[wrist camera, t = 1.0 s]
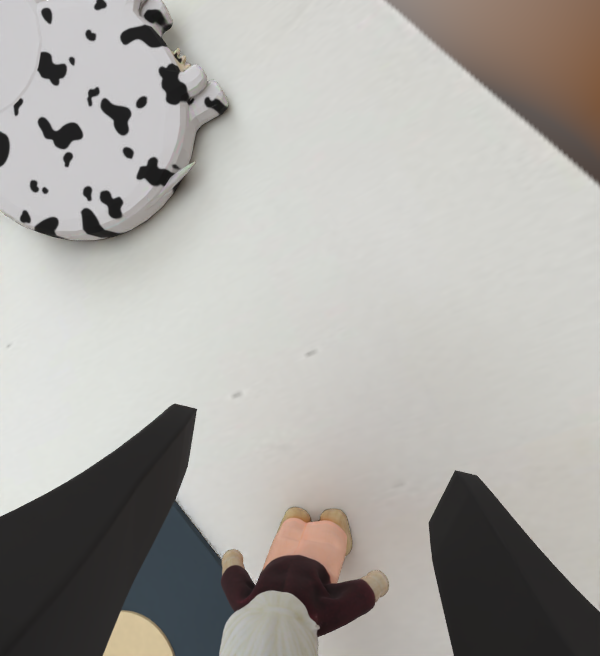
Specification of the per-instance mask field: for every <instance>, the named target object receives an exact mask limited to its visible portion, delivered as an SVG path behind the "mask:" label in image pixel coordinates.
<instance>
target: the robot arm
mask: <svg viewBox="0 0 600 656" xmlns="http://www.w3.org/2000/svg"><path fill="white" fill-rule="evenodd" d="M196 411H197V409H195V408H191V407H187V406H182V405H178V404H173V405H171V406H170V407H169V408H168V409H166V410H165V411H164V412H163V413H162V414H161V415H159V416H158V417H157V418H156V419H155V420H154V421H152V422H151V423H150V424H149V425H148V426H146V427H145V428H144V429H143V430H141V431H140V432H139V433H138V434H136V435H135V436H134V437H132V438H131V439H130V440H128V441H127V442H126V443H124V444H123V445H122V446H120V447H119V448H118V449H116V450H115V451H114V452H112V453H111V454H109V455H108V456H106V457H105V458H103V459H102V460H100V461H99V462H97V463H96V464H94V465H93V466H91V467H90V468H89V469H87V470H85V471H84V472H82V473H81V474H79V475H77V476H76V477H74V478H73V479H71V480H69V481H68V482H66V483H64V484H62V485H61V486H59V487H57V488H55V489H54V490H52V491H50V492H48V493H46V494H45V495H43V496H41V497H39V498H37V499H35V500H33V501H31V502H29V503H27V504H25V505H23V506H21V507H19V508H18V509H16V510H13V511H11V512H9V513H7V514H5V515H3V516H1V517H0V656H103V654H104V651H105V649H106V646H107V644H108V641H109V639H110V636H111V634H112V631H113V629H114V627H115V624H116V622H117V619H118V617H119V614H120V612H121V609H122V607H123V604H124V602H125V599H126V597H127V595H128V593H129V591H130V589H131V586H132V584H133V582H134V580H135V578H136V576H137V574H138V572H139V570H140V568H141V566H142V564H143V562H144V560H145V558H146V556H147V554H148V553H149V551H150V549H151V547H152V545H153V543H154V541H155V539H156V537H157V535H158V533H159V531H160V529H161V527H162V525H163V523H164V521H165V519H166V517H167V515H168V513H169V511H170V509H171V507H172V505H173V503H174V501H175V499H176V496H177V494H178V491H179V488H180V486H181V483H182V480H183V478H184V475H185V472H186V470H187V467H188V461H189V455H190V449H191V443H192V436H193V430H194V424H195V418H196ZM429 532H430V544H431V553H432V561H433V566H434V570H435V575H436V579H437V584H438V588H439V593H440V597H441V602H442V606H443V610H444V614H445V619H446V623H447V627H448V632H449V636H450V640H451V645H452V649H453V654H454V656H600V612H599V611H598V610H597V609H596V608H595V607H594V606H593V605H592V604H591V603H590V602H589V601H588V600H587V599H586V598H585V597H584V596H583V595H582V594H581V593H580V592H579V591H578V590H577V589H576V588H575V587H574V586H573V585H572V584H571V583H570V582H569V581H568V580H567V579H566V578H565V576H564V575H563V574H562V573H561V572H560V571H559V570H558V569H557V568H556V567H555V566H554V565H553V564H552V562H551V561H550V560H549V559H548V558H547V557H546V556H545V555H544V553H543V552H542V551H541V550H540V549H539V548H538V547H537V546H536V544H535V543H534V542H533V541H532V540H531V539H530V537H529V536H528V535H527V534H526V533H525V532H524V530H523V529H522V528H521V527H520V526H519V524H518V523H517V522H516V521H515V520H514V518H513V517H512V516H511V515H510V514H509V512H508V511H507V510H506V509H505V508H504V506H503V505H502V504H501V503H500V502H499V500H498V499H497V498H496V497H495V496H494V494H493V493H492V492H491V491H490V490H489V489H488V487H487V486H486V485H485V484H484V483H483V482H482V481H481V479H480V478H479V477H478V476H477V475H472V474H468V473H464V472H460V471H456V470H455V472H454V474H453V476H452V478H451V480H450V482H449V484H448V486H447V488H446V490H445V492H444V494H443V496H442V497H441V499H440V501H439V503H438V505H437V507H436V509H435V511H434V513H433V515H432V517H431V519H430V521H429Z"/></svg>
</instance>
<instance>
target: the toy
mask: <svg viewBox="0 0 600 656" xmlns="http://www.w3.org/2000/svg"><path fill="white" fill-rule="evenodd" d="M172 24H173V20H172V18H171V16H170V14H169V12H168V10H167V8H166V6H165V4H164V3H163V1H162V0H0V211H1V212H2V213H3V214H4V215H6V216H7V217H9V218H10V219H12V220H14V221H15V222H17V223H18V224H20V225H22V226H24V227H27V228H29V229H32V230H35V231H37V232H40V233H43V234H46V235H49V236H52V237H57V238H62V239H68V240H98V239H104V238H109V237H114V236H116V235H119V234H122V233H124V232H127V231H129V230H132V229H133V228H135V227H137V226H138V225H140V224H142V223H143V222H145V221H147V220H148V219H149V218H150V217H151V216H153V215H154V214H155V213H156V212H157V211H158V210H159V209H161V208H162V207H163V205H164V204H165V203H166V202H167V201H168V199H169V198H170V197H171V196H172V194H173V193H174V192H175V190H176V189H177V187H178V185H179V183H180V182H181V180H182V178H183V177H184V176H185V175H186V174H187V173H188V172H189V171H190V169H191V168H192V167H193V165H194V164H195V162H196V161H194V162H193V163H191V164H189V161H190V159H191V156H192V151H193V146H194V141H195V136H196V131H197V130H198V129H199V128H200V127H201V125H202V124H204V123H206V122H208V121H209V120H211V119H213V118H215V117H217V116H218V115H220V114H222V113H223V112H224V111H225V110H226V109H227V107H228V101H227V98H226V95H225V93H224V91H223V90H222V88H221V87H220V85H219V84H218V83H217V82H216V81H215V80H214V79H213V80H209V81H207V76H206V74H205V72H204V70H203V69H202V68H201V66H199V65H196V64H195V65H192V66H191V65H190V64H189V63H185V62H186V56H185V55H184V56H179V54H180V49H179V48H177V49H176V50H175V52H173V51H171V50H170V49H169V48H168V47H167V45H166V44H165V42H164V41H163V39H162V35H163V33H164V32H165V31H167V30H168V29H170V28H171V26H172ZM188 164H189V165H188Z"/></svg>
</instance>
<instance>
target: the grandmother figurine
mask: <svg viewBox="0 0 600 656" xmlns="http://www.w3.org/2000/svg"><path fill="white" fill-rule="evenodd" d="M351 548H352V538H351V533H350V529H349V524H348V520H347V517H346V515H345V514H344V513H343V512H342V511H341V510H338V509H327V510H325V511H324V512H323V513H322V514H321V516H320V521H314V522H311V520H310V516H309V514H308V513H307V512H306V511H305V510H303V509H301V508H297V507H292V508H290V509H288V510H287V512H286V513H285V515H284V517H283V519H282V522H281V524H280V526H279V529H278V531H277V534H276V536H275V538H274V540H273V542H272V545H271V547H270V550H269V553H268V555H267V558H266V561H265V564H264V567H263V570H262V572H261V574H260V576H259V579H258V582H257V583H256V585H255V584H254V583H253V581H252V580H251V578H250V576H249V574H248V573H247V571H246V570H245V568H244V564H243V556H242V554H241V553H240V552H239V551H238V550H235V549H231V550H228V551H227V552H226V553H225V554H224V555H223V558H222V567H223V568H222V578H221V586H222V589H223V591H224V593H225V595H226V598H227V600H228V602H229V604H230V606H231V607H232V609H233V610H234V612H235V613H233V614H232V615H231V616H230V618H229V619H228V621H227V622H226V625H225V627H224V630H223V636H222V642H221V646H220V652H219V656H318V637H319V636H322V635H325V634H327V633H329V632H332V631H334V630H336V629H338V628H340V627H342V626H344V625H346V624H348V623H350V622H351V621H353V620H355V619H356V618H358V617H360V616H361V615H364V614H366V613H367V612H368V611H370V610H371V609H372V608H373V607H374V605H375V602H377V600H378V599H379V597H382V596H384V595H385V594H386V593H387V591H388V589H389V582H388V579H387V577H386V575H385V574H384V573H382V572H381V571H378V570H374V571H371V572H369V573H368V574H367V576H365V577H362V578H361V579H357V580H351V581H347V582H342V583H337V581H338V578H339V575H340V572H341V568H342V564H343V562H344V559H345V556H347V555H348V554H349V553H350V551H351Z"/></svg>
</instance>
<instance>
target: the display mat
mask: <svg viewBox="0 0 600 656" xmlns="http://www.w3.org/2000/svg"><path fill="white" fill-rule="evenodd" d="M222 568H223V567H222V561H221V560H220V558H219V557H218V556H217V554H216V553H215V552H214V551H213V549H212V548H211V547H210V545H209V544H208V543H207V541H206V540H205V539H204V538H203V536H202V535H201V534H200V532H199V531H198V530H197V529H196V527H195V526H194V525H193V523H192V522H191V521H190V520H189V518H188V517H187V516H186V514H185V513H184V512H183V511H182V509H181V508H180V507H179V505H178V504H177V503H176V501H174V503H173V505H172V507H171V509H170V511H169V513H168V515H167V517H166V519H165V521H164V523H163V525H162V527H161V529H160V531H159V533H158V535H157V537H156V539H155V541H154V543H153V545H152V547H151V549H150V551H149V553H148V554H147V556H146V558H145V560H144V562H143V564H142V566H141V568H140V570H139V572H138V574H137V576H136V578H135V580H134V582H133V584H132V586H131V589H130V591H129V593H128V595H127V597H126V599H125V602H124V604H123V607H122V609H121V612H120V614H119V617H118V619H117V622H116V624H115V627H114V629H113V631H112V634H111V636H110V639H109V641H108V644H107V646H106V649H105V651H104V654H103V656H219V652H220V646H221V642H222V636H223V630H224V627H225V625H226V622H227V621H228V619H229V618H230V616H231V615H232V614H233V613H235V612H234V610H233V609H232V607H231V606H230V604H229V602H228V600H227V598H226V595H225V593H224V591H223V589H222V586H221V578H222Z"/></svg>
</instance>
